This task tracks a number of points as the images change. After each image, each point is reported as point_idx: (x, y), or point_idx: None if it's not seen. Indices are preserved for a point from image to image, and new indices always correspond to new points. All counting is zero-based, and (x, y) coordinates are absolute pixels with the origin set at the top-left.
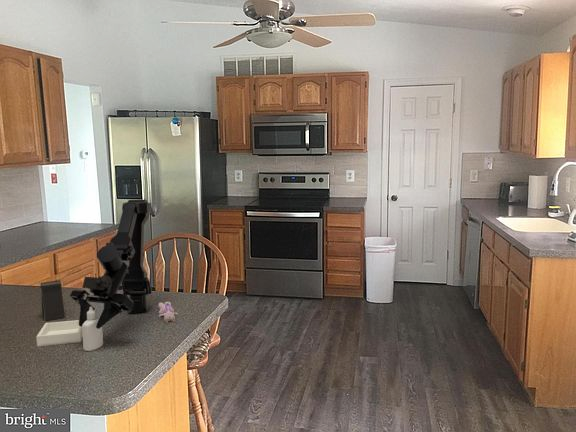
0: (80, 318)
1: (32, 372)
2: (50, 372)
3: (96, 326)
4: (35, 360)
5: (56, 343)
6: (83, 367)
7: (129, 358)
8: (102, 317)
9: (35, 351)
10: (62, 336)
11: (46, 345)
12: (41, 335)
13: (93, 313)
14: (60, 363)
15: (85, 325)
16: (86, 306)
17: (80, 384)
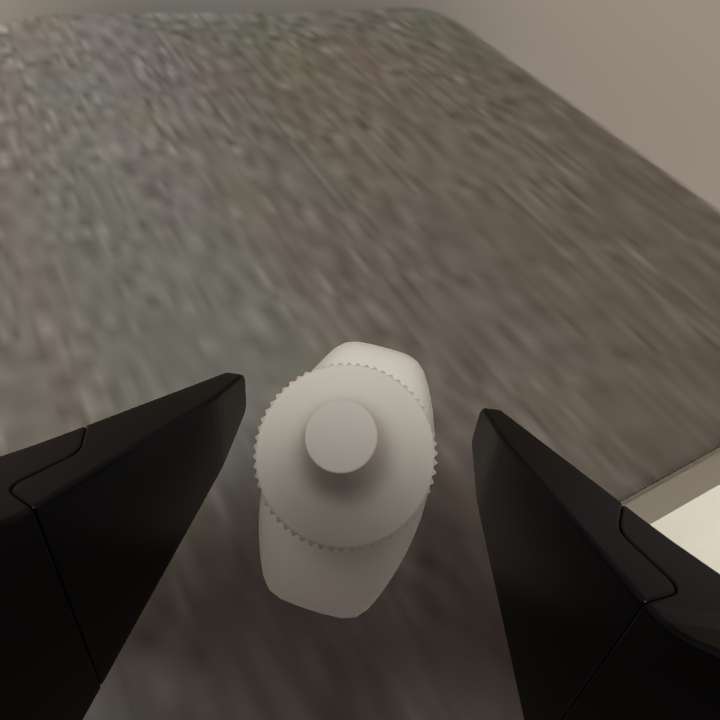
0: (532, 446)
1: (473, 142)
2: (388, 153)
3: (235, 374)
4: (575, 248)
5: (664, 480)
6: (256, 216)
7: (30, 353)
8: (116, 414)
9: (691, 354)
10: (667, 503)
11: (712, 451)
12: None
13: (274, 410)
14: (409, 237)
15: (365, 345)
16: (664, 712)
17: (182, 88)
